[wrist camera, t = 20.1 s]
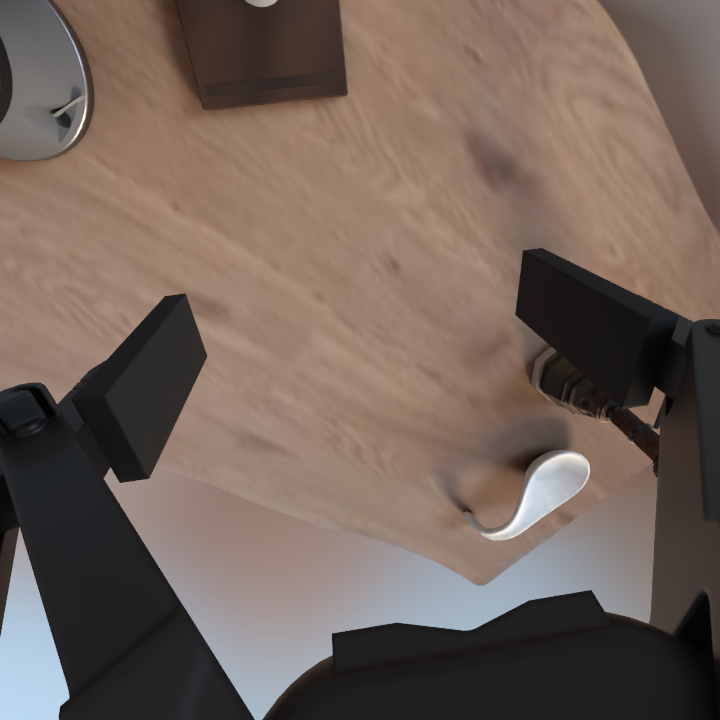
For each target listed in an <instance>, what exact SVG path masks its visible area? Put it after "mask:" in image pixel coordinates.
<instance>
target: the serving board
mask: <svg viewBox="0 0 720 720" xmlns="http://www.w3.org/2000/svg"><path fill="white" fill-rule="evenodd" d="M176 4H177V8H178V12H179V16H180V19H181V23H182V27H183V31H184V35H185V39H186V43H187V47H188V51H189V55H190V59H191V63H192V67H193V71H194V75H195V78H196V82H197V86H198V90H199V94H200V98H201V102H202V106H203V109H204V110H216V109H226V108H235V107H244V106H253V105H263V104H272V103H281V102H290V101H300V100H309V99H318V98H328V97H337V96H346V95H347V94H348V89H347V78H346V67H345V56H344V46H343V35H342V24H341V13H340V2H339V0H277V1H276V2H275V3H274V4H272V5H269V6H267V7H257V6H254V5H252V4H250V3H248V2H247V1H245V0H176Z"/></svg>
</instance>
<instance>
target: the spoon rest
mask: <svg viewBox="0 0 720 720" xmlns="http://www.w3.org/2000/svg"><path fill="white" fill-rule="evenodd" d="M589 473H590V466H589V463H588V461H587V460H586V458H585V457H584V456H583V455H581V454H579V453H577V452H573V451H569V450H554V451H550V452H547V453H545V454H543V455H541V456H540V457H538V458H537V459H535V460H534V461H533V462H532V463H531V464H530V465H529V467H528V469H527V471H526V473H525V476H524V479H523V484H522V488H521V492H520V496H519V499H518V503H517V506H516V509H515V511H514V514H513V516H512V517H511V519H510V520H509V521H508V522H507V523H506V524H504V525H503V526H501V527H498V528H491V529H490V528H485V527H483V526H482V525H481V523H480V521H479V520H478V518H477V517H475V516H474V515H473V514H471V513H470V512H464V513H463V515H464V517H465V519H466V521H467V522H468V524H469V525H470V526H471V527H472V528H474V529H475V530H476V531H478V532H480V533H481V534H482V535H483V536H484V537H486V538H488V539H491V540H505V539H509V538H512V537H515V536H517V535H519V534H520V533H522V532H523V531H525V530H526V529H527V528H529V527H530V526H531V525H533V524H534V523H535V522H536V521H538V520H539V519H540V518H542V517H543V516H545V515H546V514H547V513H549V512H550V511H552V510H553V509H555V508H556V507H558V506H560V505H561V504H562V503H564V502H566V501H567V500H568V499H570V498H571V497H572V496H574V495H575V494H576V493H577V492H578V491H579V490H580V489H581V488H582V487H583V486H584V484H585V483H586V481H587V479H588V477H589Z"/></svg>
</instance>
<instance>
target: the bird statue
mask: <svg viewBox="0 0 720 720" xmlns="http://www.w3.org/2000/svg"><path fill="white" fill-rule="evenodd" d="M531 384H532V385H533V386H534V388H535V389H536V390H537V391H539V392H540V393H541V394H542V395H543V396H544V397H545V398H546V399H548V400H549V401H550V402H551V403H552V404H553V405H555V404H556V405H558V406H561V407H563V408H566V409H568V410H569V411H570V412H571V413H572V414H578V415H580V416H582V415H586V416H590V417H593V418H595V419H596V420H597V421H598V422H601V423H613V424H615V425H616V426H617V427H618V428H619V429H620V430H621V431H622V432H623V433H624V434H625V435H626V436H627V437H628V442H629V443H631V444H636V445H637V446H638V447H639V448H640V449H641V450H642V451H643V452H644V453H645V454H646V455H647V456H648V457H649V458H650V459H651V460H653V464H654V466H653V469H654V470H653V472H654V474H655V476H656V477H657V478H658V460H659V440H660V435H658V434H657V433H656V432H654V431H653V426H652V425H650V424H648V423H647V424H645V423H644V422H643V421H642V420H640V419H639V418H638V417H637V416H636V415H635V414H633V413H632V412H631V411H630V410H629V408H625V409H621V408H620V407H619V406H618V405H617V404H616V403H615V402H613V401H612V400H611V399H610V398H609V397H608V396H607V395H606V394H604V393H603V392H602V391H601V390H600V389H599V388H598V387H597V386H595V385H594V384H593V383H592V382H591V381H590V380H589V379H587V378H586V377H585V376H584V375H583V374H582V373H581V372H580V371H578V370H577V369H576V368H575V367H574V366H573V365H572V364H570V363H569V362H568V361H567V360H566V359H565V358H564V357H563V356H561V355H560V354H559V353H558V352H557V351H556V350H555V349H554V348H552V347H551V346H550V347H549V348H548V349H547V350H546V351H545V352H543V353H542V354H541V355H540V356H539V357H538V358H536V359H535V363H534V369H533V374H532V380H531Z"/></svg>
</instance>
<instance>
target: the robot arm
mask: <svg viewBox="0 0 720 720" xmlns="http://www.w3.org/2000/svg"><path fill="white" fill-rule="evenodd" d="M93 107H94V88H93V80H92V75H91V71H90V67H89V64H88V60H87V57H86V55H85V52H84V50H83V47H82V45H81V43H80V41H79V39H78V37H77V35H76V33H75V32H74V30H73V28H72V26H71V25H70V23H69V22H68V20H67V19H66V17H65V16H64V14H63V13H62V12H61V10H60V9H59V8H58V7H57V5H56V4H55V3H54V2H53V1H52V0H0V158H5V159H9V160H16V161H36V160H45V159H51V158H54V157H58V156H60V155H62V154H65V153H66V152H68V151H69V150H71V149H72V148H73V147H75V146H76V145H77V144H78V143H79V142H80V140H81V139H82V138H83V136H84V135H85V133H86V131H87V129H88V127H89V124H90V122H91V118H92V114H93ZM516 316H517V317H518V318H520V319H521V320H522V321H523V322H524V323H525V324H526V325H528V326H529V327H530V328H531V329H532V330H533V331H534V332H535V333H537V334H538V335H539V336H540V337H541V338H542V339H543V340H544V341H546V342H547V343H548V344H549V345H550V346H551V347H552V348H554V349H555V350H556V351H557V352H558V353H559V354H560V355H561V356H563V357H564V358H565V359H566V360H567V361H568V362H569V363H570V364H572V365H573V366H574V367H575V368H576V369H577V370H578V371H580V372H581V373H582V374H583V375H584V376H585V377H586V378H587V379H589V380H590V381H591V382H592V383H593V384H594V385H595V386H597V387H598V388H599V389H600V390H601V391H602V392H603V393H604V394H606V395H607V396H608V397H609V398H610V399H611V400H612V401H613V402H615V403H616V404H617V405H618V406H619V407H620V408H621V409H625V408H632V407H639V406H646V405H648V404H649V401H650V398H651V395H652V392H653V390H654V387H656V388H658V389H659V390H660V391H662V392H663V393H665V394H666V395H665V398H664V400H663V403H662V405H661V408H660V411H659V413H658V416H657V419H656V421H655V424H654V427H653V428H656V429H658V428H659V427H660V440H659V460H658V481H657V502H656V521H655V541H654V544H655V545H654V562H653V582H652V603H651V616H650V622H649V624H647V623H644V622H642V621H639V620H636V619H633V618H630V617H626V616H621V615H617V614H613V613H609V612H604V610H603V608H602V607H601V605H600V603H599V602H598V600H597V599H596V597H595V595H594V594H593V592H592V591H591V590H589V591H584V592H577V593H572V594H565V595H559V596H553V597H547V598H542V599H535V600H530V601H527V602H526V603H524V604H522V605H520V606H518V607H516V608H514V609H512V610H510V611H508V612H506V613H505V614H503V615H501V616H499V617H497V618H495V619H493V620H491V621H489V622H487V623H485V624H483V625H481V626H480V627H478V628H476V629H473V630H469V631H461V630H453V629H445V628H437V627H428V626H420V625H412V624H403V623H392V624H386V625H381V626H374V627H369V628H362V629H357V630H350V631H345V632H339V633H333V634H332V645H333V655H332V656H330V657H328V658H326V659H324V660H322V661H321V662H319V663H318V664H316V665H315V666H313V667H312V668H310V669H309V670H308V671H306V672H305V673H304V674H302V675H301V676H300V677H299V678H298V679H297V680H296V681H294V682H293V683H292V684H291V685H290V686H289V687H288V688H287V689H286V691H285V692H284V693H283V694H282V695H281V696H280V697H279V698H278V699H277V701H276V702H275V704H274V705H273V706H272V707H271V709H270V710H269V711H268V713H267V714H266V716H265V717H264V718H263V720H720V320H717V319H705V320H699V321H696V322H693V321H691V320H688V319H686V318H684V317H682V316H680V315H678V314H676V313H674V312H672V311H670V310H668V309H666V308H663V307H662V306H660V305H658V304H656V303H653V302H652V301H650V300H648V299H646V298H644V297H642V296H640V295H636V294H634V293H632V292H630V291H628V290H626V289H624V288H622V287H620V286H618V285H616V284H614V283H612V282H610V281H608V280H606V279H604V278H602V277H600V276H598V275H596V274H594V273H592V272H589V271H587V270H585V269H583V268H581V267H579V266H577V265H575V264H573V263H571V262H569V261H567V260H565V259H563V258H561V257H559V256H557V255H555V254H553V253H551V252H549V251H547V250H545V249H543V248H539V249H531V250H524V251H523V256H522V264H521V273H520V281H519V289H518V298H517V306H516ZM206 358H207V354H206V351H205V348H204V345H203V343H202V340H201V337H200V334H199V331H198V328H197V325H196V322H195V319H194V316H193V313H192V311H191V308H190V305H189V302H188V299H187V296H186V294H179V295H171V296H165V297H164V298H163V299H162V300H161V301H160V302H159V303H158V305H157V306H156V307H155V308H154V309H153V310H152V311H151V312H150V313H149V314H148V316H147V317H146V318H145V319H144V320H143V321H142V322H141V323H140V324H139V325H138V326H137V328H136V329H135V330H134V331H133V332H132V333H131V334H130V335H129V336H128V337H127V339H126V340H125V341H124V342H123V343H122V344H121V345H120V346H119V347H118V348H117V349H116V351H115V352H114V353H113V354H112V355H111V356H110V357H109V358H108V359H107V360H106V361H104V362H102V363H101V364H99V365H98V366H96V367H94V368H93V369H91V370H90V371H89V372H88V373H87V374H86V375H85V376H84V377H83V378H82V379H81V380H80V382H79V383H77V384H76V385H75V386H74V388H73V391H70V392H69V393H68V394H67V395H66V396H65V397H64V398H63V399H62V400H61V401H60V402H59V403H58V404H56V402H55V400H54V399H53V397H52V396H51V394H50V392H49V391H48V389H47V388H46V386H45V385H43V384H42V383H27V384H22V385H18V386H15V387H11V388H8V389H6V390H3V391H1V392H0V635H1V629H2V623H3V618H4V612H5V606H6V600H7V594H8V589H9V583H10V577H11V572H12V566H13V560H14V554H15V548H16V542H17V537H18V531H19V527H20V529H21V532H22V535H23V539H24V542H25V546H26V549H27V552H28V555H29V559H30V562H31V566H32V569H33V572H34V576H35V579H36V582H37V585H38V589H39V592H40V595H41V599H42V602H43V606H44V609H45V612H46V616H47V619H48V622H49V626H50V629H51V632H52V636H53V639H54V642H55V646H56V649H57V653H58V656H59V659H60V663H61V666H62V669H63V673H64V676H65V679H66V682H67V686H68V690H69V695H70V698H69V700H67V701H66V702H65V703H64V704H63V705H62V706H60V712H59V720H255V719H254V718H253V716H252V715H251V713H250V711H249V710H248V709H247V707H246V705H245V703H244V702H243V700H242V699H241V697H240V695H239V694H238V692H237V691H236V689H235V687H234V686H233V684H232V683H231V681H230V679H229V678H228V676H227V675H226V673H225V672H224V670H223V669H222V667H221V665H220V664H219V662H218V660H217V659H216V657H215V656H214V654H213V652H212V651H211V649H210V648H209V646H208V645H207V643H206V642H205V640H204V638H203V636H202V635H201V633H200V632H199V630H198V628H197V627H196V625H195V624H194V622H193V621H192V619H191V617H190V616H189V614H188V613H187V611H186V609H185V608H184V606H183V605H182V604H181V602H180V600H179V599H178V597H177V595H176V594H175V592H174V591H173V589H172V587H171V586H170V584H169V583H168V581H167V579H166V578H165V576H164V575H163V573H162V571H161V570H160V568H159V567H158V565H157V564H156V562H155V560H154V559H153V557H152V555H151V554H150V552H149V551H148V549H147V547H146V546H145V544H144V543H143V541H142V540H141V538H140V536H139V535H138V533H137V532H136V530H135V528H134V527H133V525H132V524H131V522H130V521H129V519H128V517H127V516H126V514H125V512H124V511H123V509H122V508H121V506H120V504H119V503H118V501H117V500H116V498H115V496H114V495H113V493H112V492H111V490H110V489H109V487H108V485H107V484H106V482H105V480H104V479H103V478H104V477H105V475H106V474H107V472H108V470H109V469H110V467H111V468H112V470H113V472H114V474H115V475H116V477H117V479H118V480H119V482H120V483H122V482H129V481H136V480H143V479H149V478H150V475H151V474H152V472H153V470H154V467H155V465H156V463H157V461H158V459H159V457H160V455H161V453H162V451H163V449H164V446H165V444H166V442H167V440H168V438H169V436H170V434H171V432H172V430H173V427H174V425H175V423H176V421H177V419H178V417H179V415H180V413H181V411H182V409H183V406H184V404H185V402H186V400H187V398H188V396H189V394H190V392H191V390H192V387H193V385H194V383H195V381H196V379H197V377H198V375H199V373H200V371H201V368H202V366H203V364H204V362H205V360H206Z"/></svg>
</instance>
